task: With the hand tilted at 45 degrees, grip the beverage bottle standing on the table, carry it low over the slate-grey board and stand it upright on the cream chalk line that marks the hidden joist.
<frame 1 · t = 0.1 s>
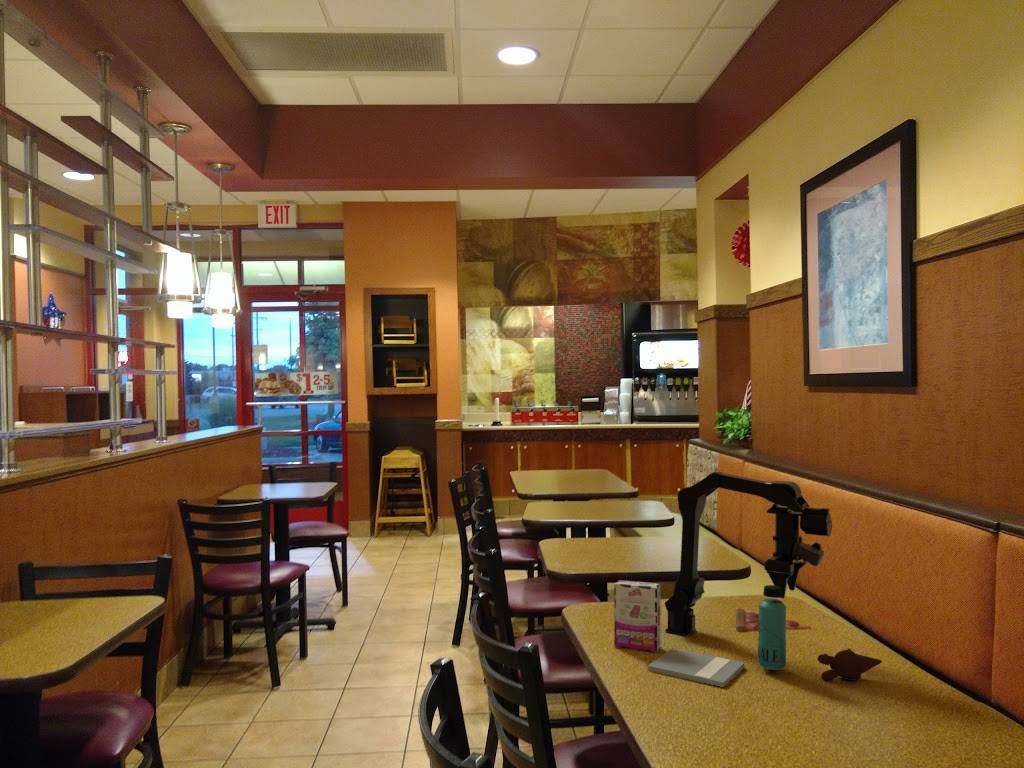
hand: (787, 594, 194), 15 cm above the table, tool pointing down, fingers open, 9 cm apart
pizza slice: (772, 628, 217), on the table
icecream: (850, 679, 177), on the table
subfloor board: (696, 669, 182), on the table
candy bar box: (637, 648, 197), on the table
beverage bottle: (771, 672, 181), on the table
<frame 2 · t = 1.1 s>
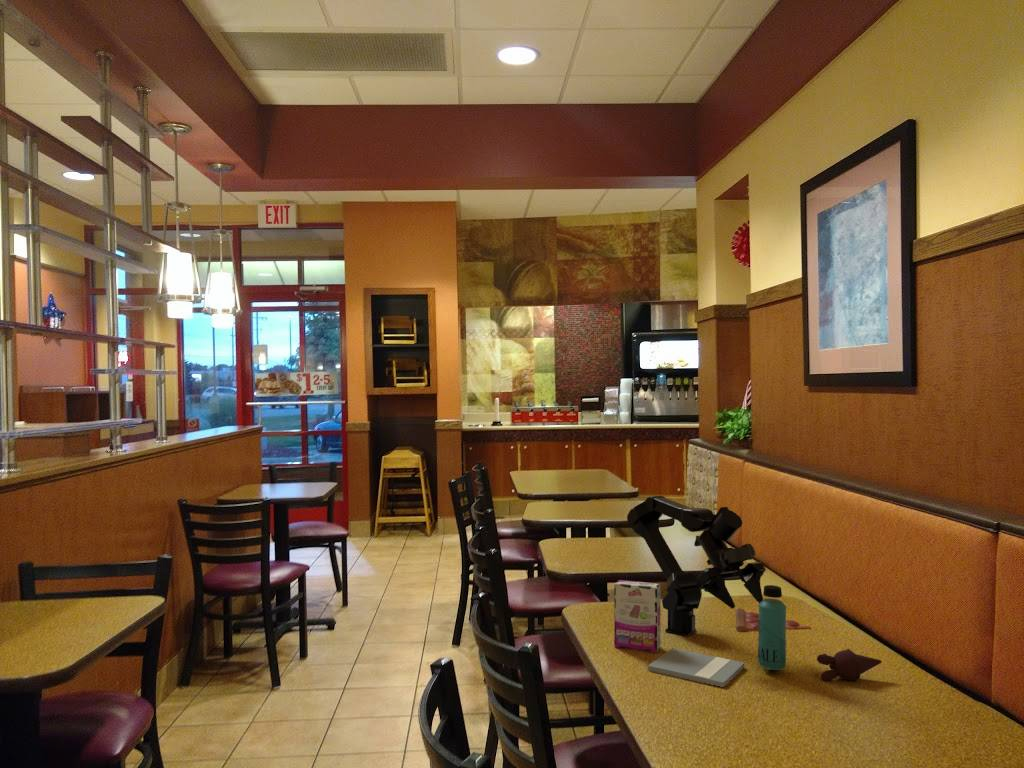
hand: (748, 605, 188), 13 cm above the table, tool tilted 45°, fingers open, 9 cm apart
nothing on the table moved.
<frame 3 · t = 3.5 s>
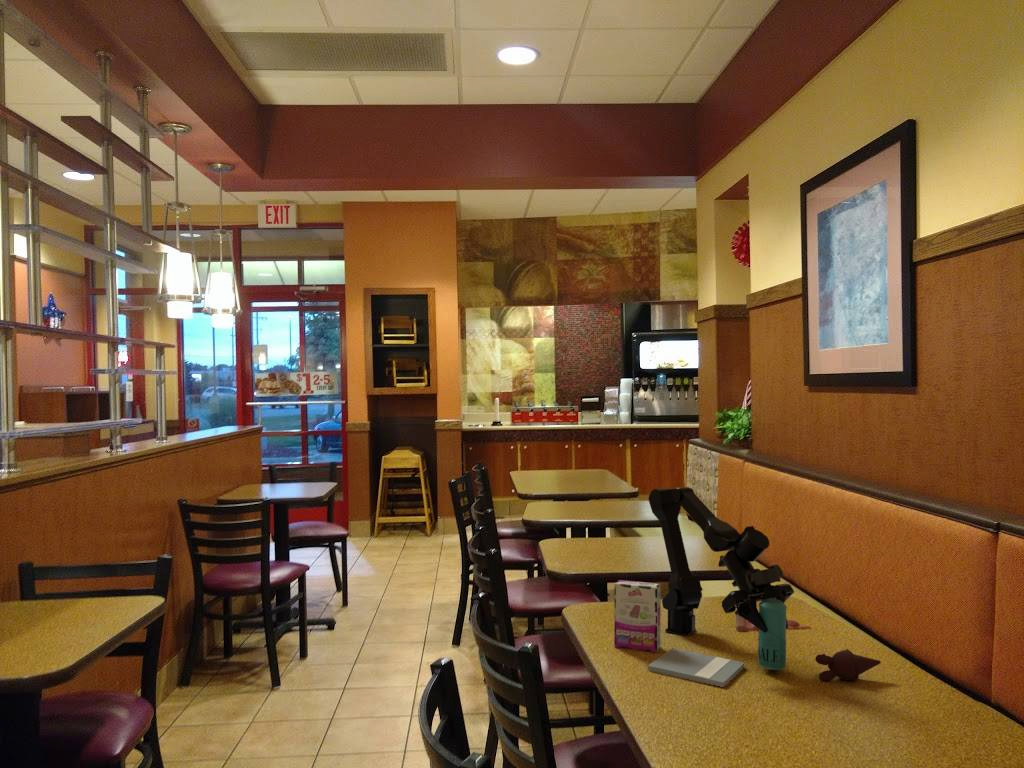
hand: (776, 630, 180), 10 cm above the table, tool tilted 45°, fingers closed on beverage bottle, 6 cm apart
beverage bottle: (771, 672, 181), on the table, touching gripper
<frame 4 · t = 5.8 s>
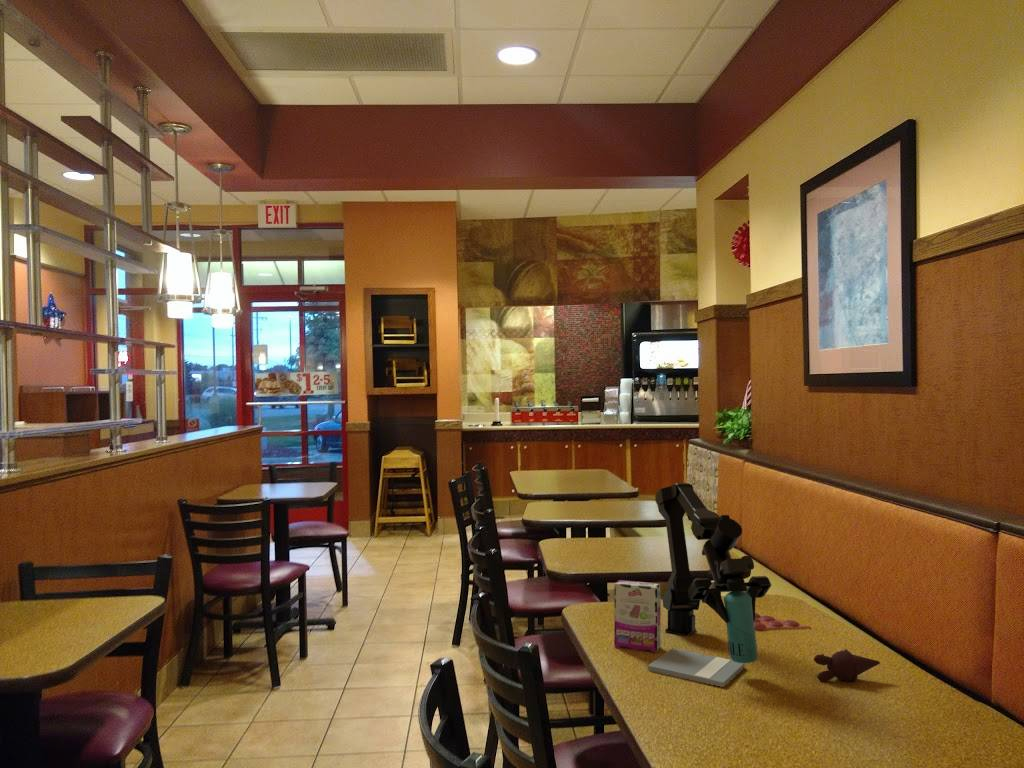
hand: (740, 621, 176), 13 cm above the table, tool tilted 45°, fingers closed on beverage bottle, 6 cm apart
beverage bottle: (744, 665, 177), point 3 cm above the table, touching gripper
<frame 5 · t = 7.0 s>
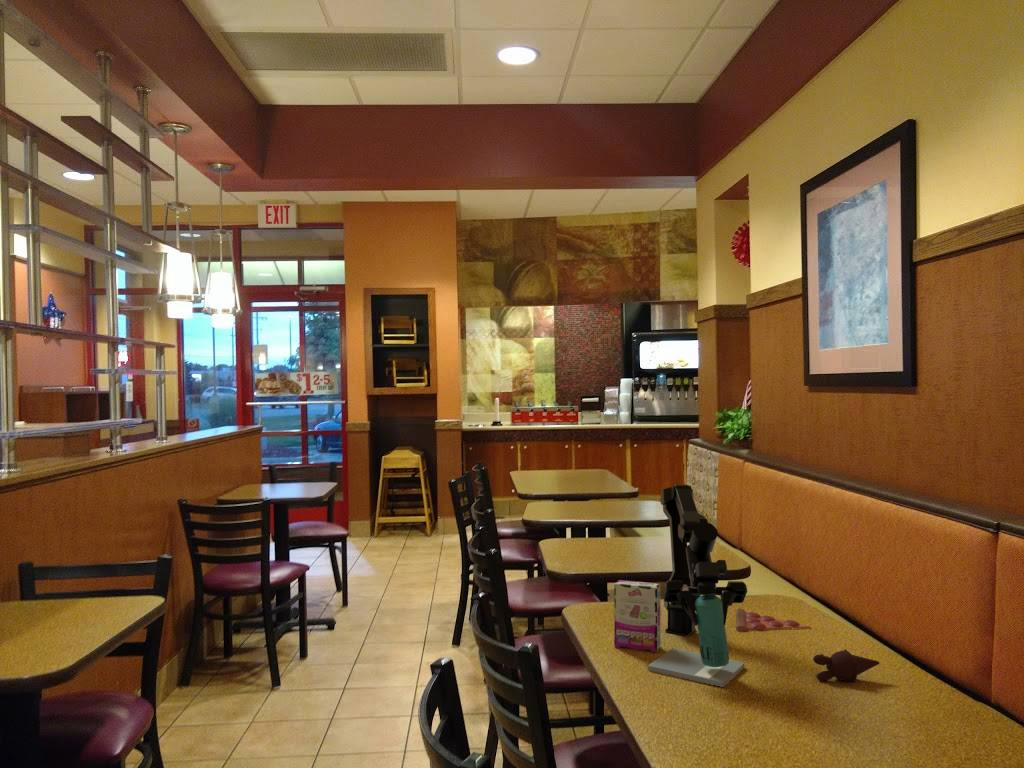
hand: (710, 625, 176), 12 cm above the table, tool tilted 45°, fingers closed on beverage bottle, 6 cm apart
beverage bottle: (716, 669, 177), point 2 cm above the table, touching gripper
when the fingers open (12 cm above the table, at t = 7.2 s): beverage bottle stays where it is, resting on subfloor board.
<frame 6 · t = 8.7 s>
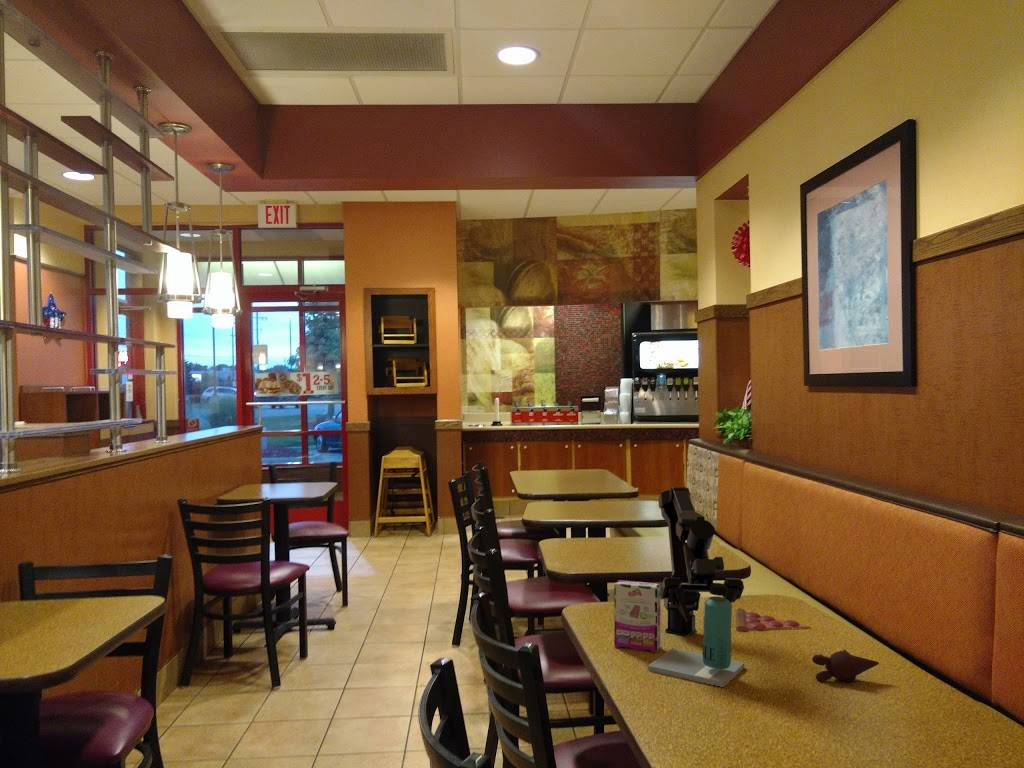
hand: (707, 621, 179), 12 cm above the table, tool tilted 45°, fingers open, 9 cm apart
beverage bottle: (716, 671, 177), point 1 cm above the table, touching gripper, subfloor board
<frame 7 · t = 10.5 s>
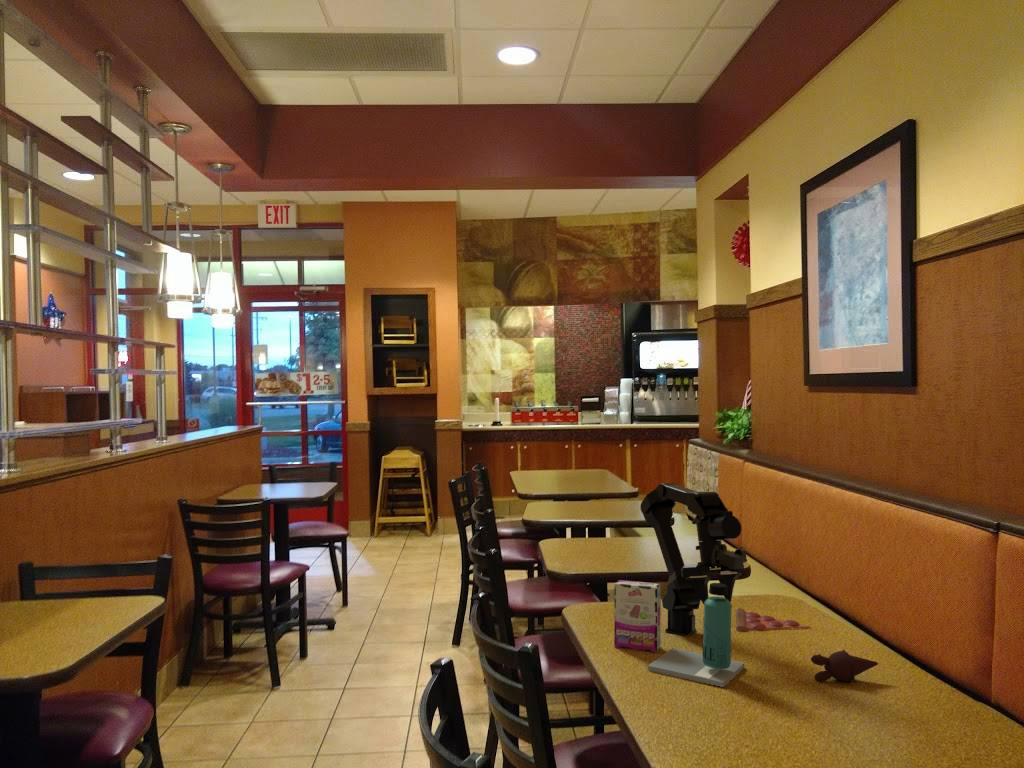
hand: (717, 604, 194), 12 cm above the table, tool pointing down, fingers open, 9 cm apart
beverage bottle: (716, 671, 177), point 1 cm above the table, touching subfloor board
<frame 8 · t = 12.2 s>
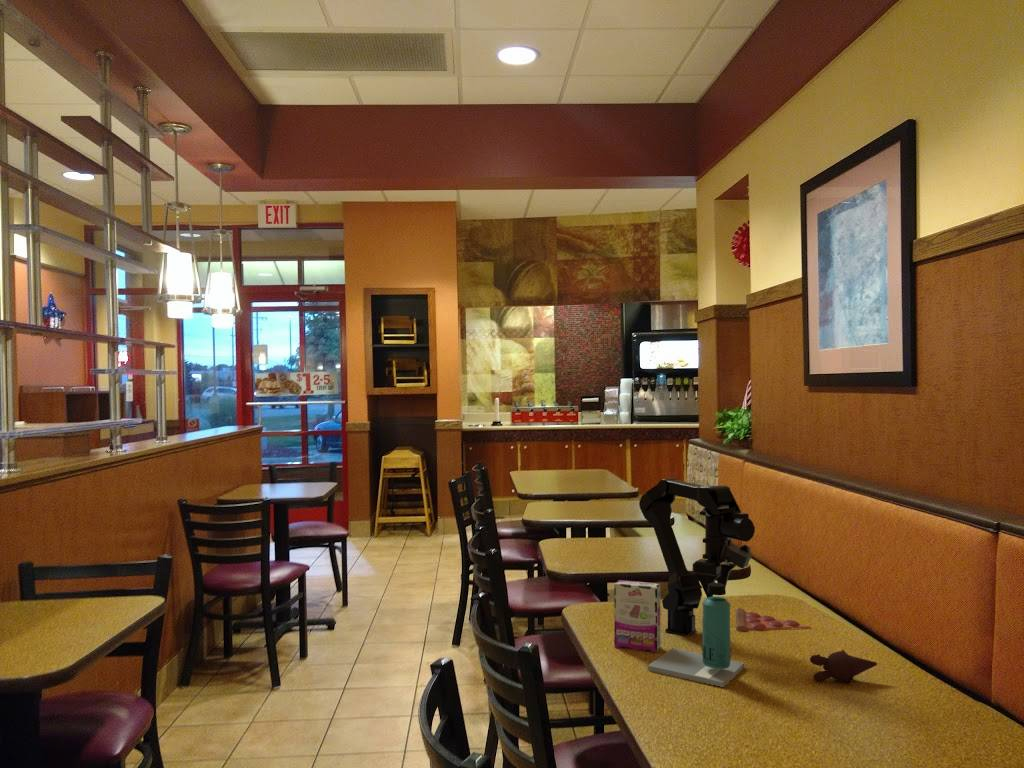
hand: (716, 595, 199), 13 cm above the table, tool pointing down, fingers open, 9 cm apart
at the end: beverage bottle inside the target area (1.8 cm from its centre), point 1.1 cm above the table; beverage bottle tilted 0°; the gripper is holding nothing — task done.
